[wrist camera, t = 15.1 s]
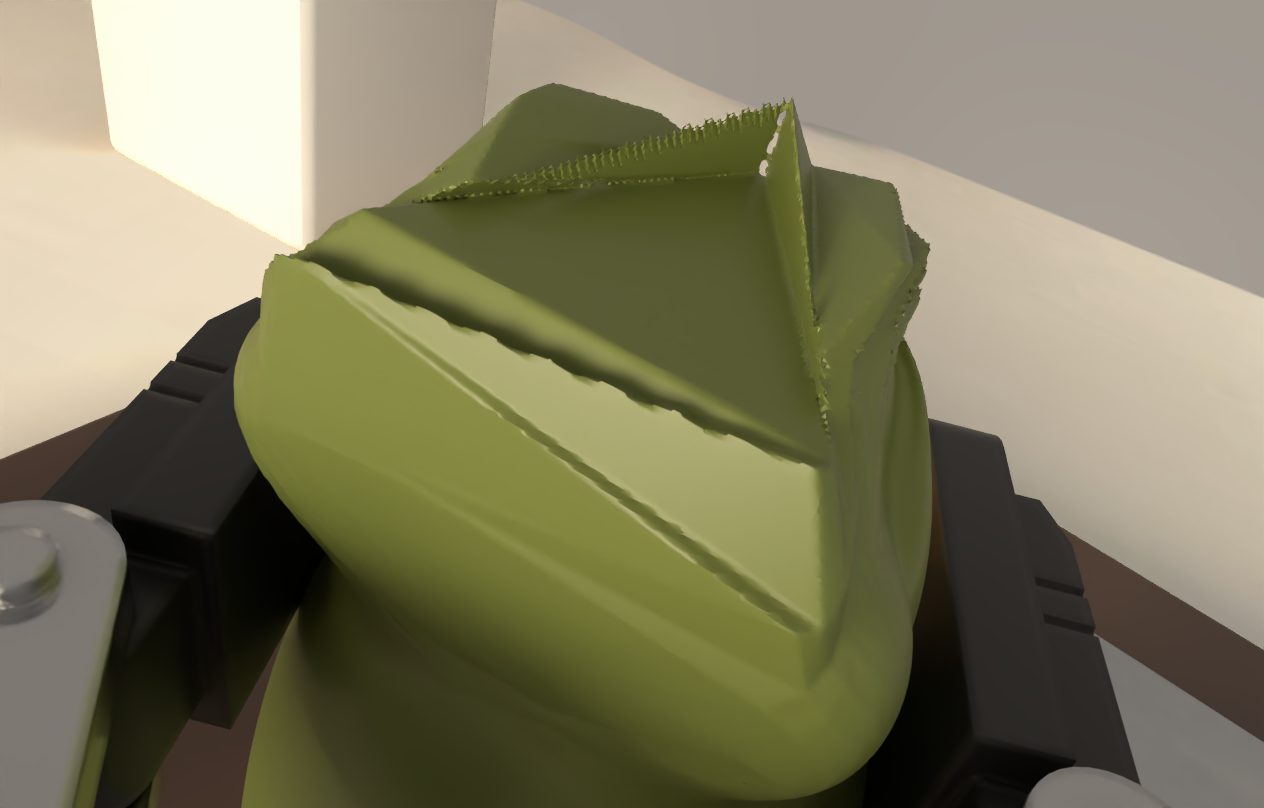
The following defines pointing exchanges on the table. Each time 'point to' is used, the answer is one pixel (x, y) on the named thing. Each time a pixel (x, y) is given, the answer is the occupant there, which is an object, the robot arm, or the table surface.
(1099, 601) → the cutting board
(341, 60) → the medicine bottle
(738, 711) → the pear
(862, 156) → the table surface
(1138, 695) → the knife
